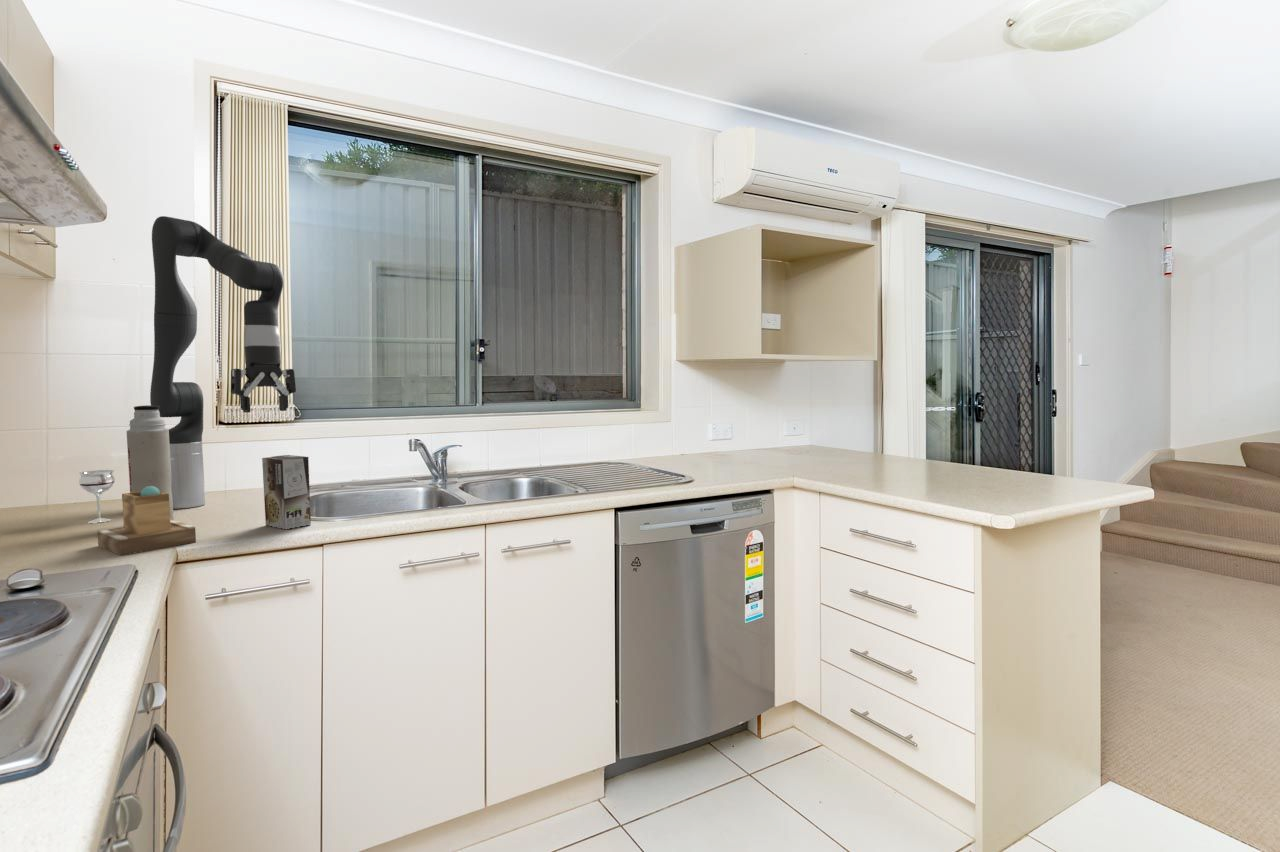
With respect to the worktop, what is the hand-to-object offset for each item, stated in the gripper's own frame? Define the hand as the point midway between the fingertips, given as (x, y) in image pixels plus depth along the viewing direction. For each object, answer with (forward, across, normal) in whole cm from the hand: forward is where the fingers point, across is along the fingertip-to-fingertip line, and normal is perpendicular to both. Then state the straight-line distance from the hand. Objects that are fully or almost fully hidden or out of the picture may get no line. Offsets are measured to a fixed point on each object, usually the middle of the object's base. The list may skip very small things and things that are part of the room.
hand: (265, 411), depth 165 cm
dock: (+26, +28, +7) cm, 39 cm away
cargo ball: (+16, +28, +7) cm, 33 cm away
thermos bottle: (+26, +20, -14) cm, 36 cm away
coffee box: (+26, +2, +13) cm, 29 cm away
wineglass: (+26, +26, -29) cm, 47 cm away
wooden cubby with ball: (+23, +28, +7) cm, 37 cm away
